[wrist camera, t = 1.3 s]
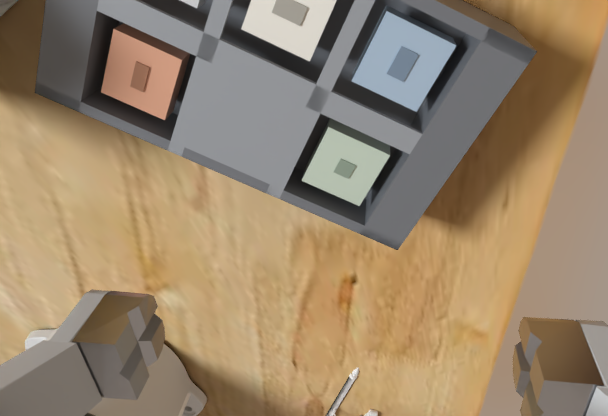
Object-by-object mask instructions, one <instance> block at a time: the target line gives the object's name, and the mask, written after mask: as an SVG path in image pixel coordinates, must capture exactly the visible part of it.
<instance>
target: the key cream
mask: <svg viewBox="0 0 608 416" xmlns="http://www.w3.org/2000/svg"><path fill="white" fill-rule="evenodd" d="M336 1H337V0H251V2H250V5H249V8H248V11H247V14H246V16H245V19H244V22H243V25H242V28H241V29H242V30H244V31H246V32H248V33H250V34H252V35H254V36H257V37H259V38H261V39H263V40H265V41H267V42H269V43H271V44H274V45H276V46H278V47H280V48H282V49H284V50H286V51H288V52H290V53H293V54H295V55H297V56H299V57H301V58H303V59H305V60H307V61H310V60H311V58H312V55H313V53H314V51H315V48H316V46H317V44H318V42H319V39H320V37H321V35H322V33H323V30H324V28H325V26H326V24H327V21H328V19H329V17H330V14H331V12H332V10H333V8H334V5H335V3H336Z"/></svg>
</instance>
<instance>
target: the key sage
mask: <svg viewBox="0 0 608 416" xmlns="http://www.w3.org/2000/svg"><path fill="white" fill-rule="evenodd" d="M389 157H390V145H388V144H386V143H384V142H381V141H379V140H377V139H375V138H373V137H371V136H368V135H366V134H364V133H362V132H360V131H358V130H355V129H353V128H351V127H349V126H347V125H344V124H342V123H340V122H338V121H336V120H334V119H331V118H330V119H329V121H328V123H327V125H326V127H325V129H324V131H323V133H322V135H321V137H320V139H319V141H318V143H317V145H316V147H315V149H314V151H313V153H312V155H311V157H310V159H309V162H308V164H307V166H306V168H305V170H304V173H303V177H302V181H303V182H306V183H308V184H310V185H312V186H315V187H317V188H319V189H321V190H324V191H326V192H328V193H331V194H333V195H335V196H337V197H340V198H342V199H344V200H346V201H349V202H351V203H353V204H356V205H358V206H360V205H361V203H362V201H363V200H364V198H365V196H366V195H367V193H368V191H369V190H370V188H371V186H372V185H373V183H374V181H375V180H376V178H377V176H378V175H379V173H380V171H381V170H382V168H383V166H384V165H385V163H386V162H387V160H388V158H389Z"/></svg>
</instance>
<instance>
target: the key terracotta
mask: <svg viewBox="0 0 608 416" xmlns="http://www.w3.org/2000/svg"><path fill="white" fill-rule="evenodd" d="M189 56H190V53H188V52H186V51H184V50H181V49H179V48H177V47H175V46H173V45H170V44H168V43H166V42H164V41H162V40H160V39H157V38H155V37H153V36H151V35H149V34H147V33H144V32H142V31H140V30H138V29H136V28H134V27H131V26H129V25H127V24H125V23H123V24H121V25H120V26H118V27H116V28H114V29H113V34H112V39H111V44H110V49H109V54H108V59H107V64H106V69H105V74H104V79H103V84H102V89H101V93H104V94H106V95H108V96H111V97H113V98H115V99H117V100H120V101H122V102H124V103H126V104H129V105H131V106H133V107H135V108H138V109H140V110H142V111H145V112H147V113H149V114H151V115H154V116H156V117H158V118H160V119H163V120H166V118H167V117H168V116H169V115H170V114H171V113H172V112H173V111H174V107H175V104H176V100H177V97H178V94H179V90H180V87H181V84H182V80H183V77H184V73H185V70H186V67H187V63H188V60H189Z"/></svg>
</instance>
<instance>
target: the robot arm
mask: <svg viewBox="0 0 608 416" xmlns="http://www.w3.org/2000/svg"><path fill="white" fill-rule="evenodd" d="M157 307H158V306H157V303H156V301H155V298H154V296H152V295H149V294H140V293H129V292H117V291H101V290H90V291H89V292H87V293H85V294H84V296H83V297H82V298H81V300H80V301H79V302H78V304H77V305H76V306H75V308H74V309H73V310H72V311H71V313H70V314H69V315H68V317H67V318H66V319H65V321H64V322H63V323H62V325H61V326H60V327H59V328H57V329H51V330H35V331H32V332H30V334H29V335H28V337H27V339H26V340H25V348H26V351H24V352H22V353H20V354H19V355H17V356H15V357H14V358H12V359H10V360H8V361H7V362H5V363H3V364H2V365H0V416H197V415H198V414H199V413H200V412H201V411H202V410H203V408H204V406H205V404H206V402H207V397H206V396H205V394H204V393H203V392H202V391H201V390H200V389H199V388H198V387H197V386H196V385H195V384H194V383H193V382H192V381H191V380H190V378H189V376H188V374H187V372H186V370H185V367H184V366H183V364H182V362H181V361H180V359H179V358H178V357H177V356H176V354H175V353H174V352H173V351H172V350H171V349H170V348H169V347H167V346H166V345H165V344H164V340H165V330H164V325H163V322H162V320H161V319H160V318H159V317H158V316H157V315H156V314H154V312H155V310H156V309H157ZM519 334H520V338H521V342H519V343H518V344H517V345H516V346H515V349H514V355H513V377H514V383H515V388H516V391H517V392H518V393H519V394H520V395H521V396H522V397H523V401H522V406H521V409H520V411H521V416H608V325H607V324H606V323H605V322H603V321H587V320H568V319H548V318H530V317H529V318H528V317H523V319H522V320H521V322H520V327H519Z"/></svg>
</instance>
